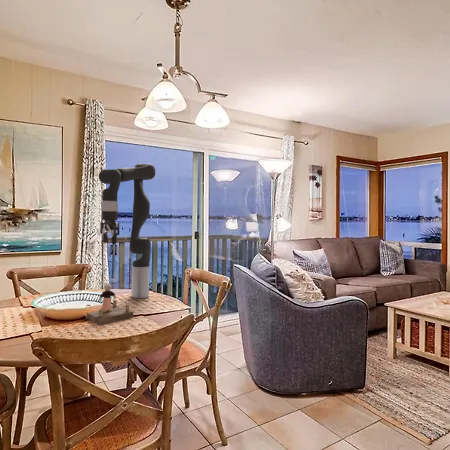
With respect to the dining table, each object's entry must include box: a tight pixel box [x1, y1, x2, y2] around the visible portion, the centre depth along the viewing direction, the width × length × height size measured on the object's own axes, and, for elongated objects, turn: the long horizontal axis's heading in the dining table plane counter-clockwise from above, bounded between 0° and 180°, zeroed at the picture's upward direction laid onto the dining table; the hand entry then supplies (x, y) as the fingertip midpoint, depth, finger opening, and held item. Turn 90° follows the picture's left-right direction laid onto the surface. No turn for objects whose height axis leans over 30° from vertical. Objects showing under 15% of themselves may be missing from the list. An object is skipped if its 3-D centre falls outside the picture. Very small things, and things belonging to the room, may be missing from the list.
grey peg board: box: [85, 299, 134, 326], centre depth 160 cm, size 16×16×6 cm
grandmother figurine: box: [98, 283, 117, 312], centre depth 161 cm, size 8×4×13 cm, turn 135°
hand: (109, 243), depth 175 cm, fingers open, 8 cm apart
